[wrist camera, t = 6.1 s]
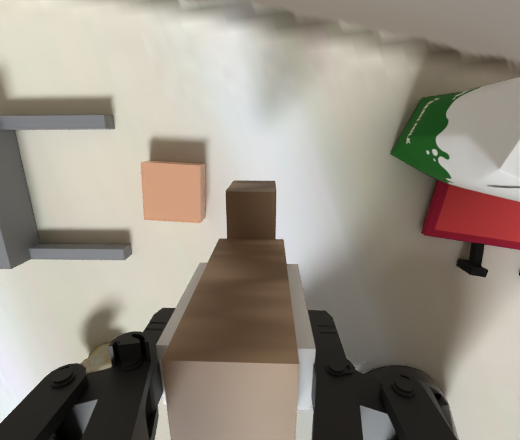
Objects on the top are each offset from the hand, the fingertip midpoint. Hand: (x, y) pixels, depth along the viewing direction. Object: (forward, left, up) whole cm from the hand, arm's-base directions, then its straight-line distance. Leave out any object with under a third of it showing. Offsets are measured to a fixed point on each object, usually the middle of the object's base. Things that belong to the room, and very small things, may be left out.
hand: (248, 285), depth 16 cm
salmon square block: (+11, -2, -22) cm, 24 cm away
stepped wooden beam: (0, 0, -6) cm, 6 cm away
